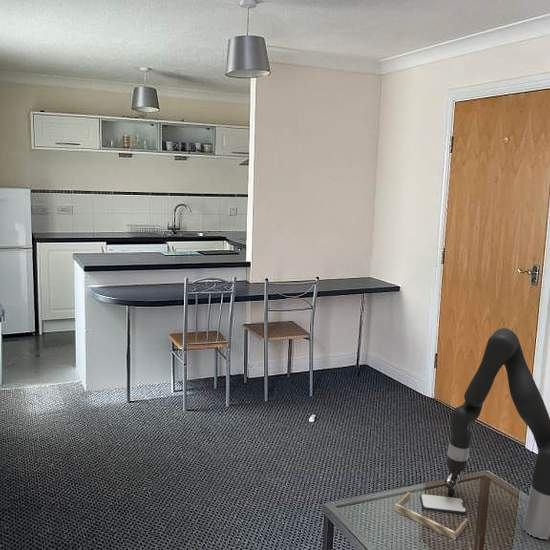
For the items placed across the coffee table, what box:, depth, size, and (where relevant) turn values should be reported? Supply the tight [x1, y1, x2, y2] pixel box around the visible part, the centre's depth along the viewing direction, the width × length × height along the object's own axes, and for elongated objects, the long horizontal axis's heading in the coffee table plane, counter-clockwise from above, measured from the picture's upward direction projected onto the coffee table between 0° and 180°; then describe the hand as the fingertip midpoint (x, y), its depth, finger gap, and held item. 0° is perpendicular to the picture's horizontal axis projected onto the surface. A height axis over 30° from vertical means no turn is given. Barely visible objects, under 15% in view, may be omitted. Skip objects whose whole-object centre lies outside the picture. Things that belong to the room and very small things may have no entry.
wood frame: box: [393, 491, 469, 541], centre depth 214 cm, size 23×11×2 cm, turn 53°
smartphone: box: [419, 493, 468, 516], centre depth 222 cm, size 9×2×16 cm
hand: (450, 495), depth 227 cm, fingers closed
